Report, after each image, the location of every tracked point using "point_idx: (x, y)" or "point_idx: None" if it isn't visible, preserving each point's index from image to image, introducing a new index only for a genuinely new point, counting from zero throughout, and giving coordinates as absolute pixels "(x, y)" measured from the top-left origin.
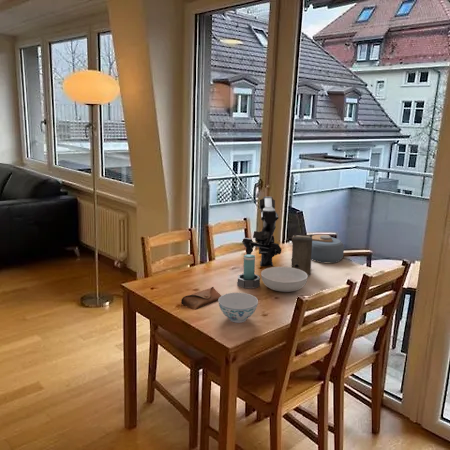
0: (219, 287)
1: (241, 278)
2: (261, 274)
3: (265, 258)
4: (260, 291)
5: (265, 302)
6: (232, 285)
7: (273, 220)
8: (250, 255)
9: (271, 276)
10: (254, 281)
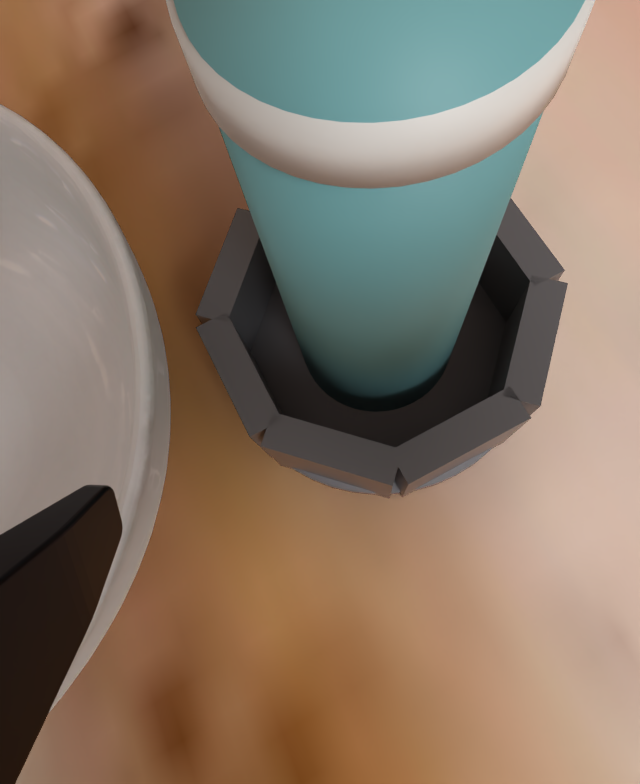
0: (620, 84)
1: (508, 337)
2: (95, 194)
3: (10, 552)
4: (155, 228)
5: (25, 42)
6: (528, 206)
7: None
8: (381, 12)
9: None
10: (236, 223)
